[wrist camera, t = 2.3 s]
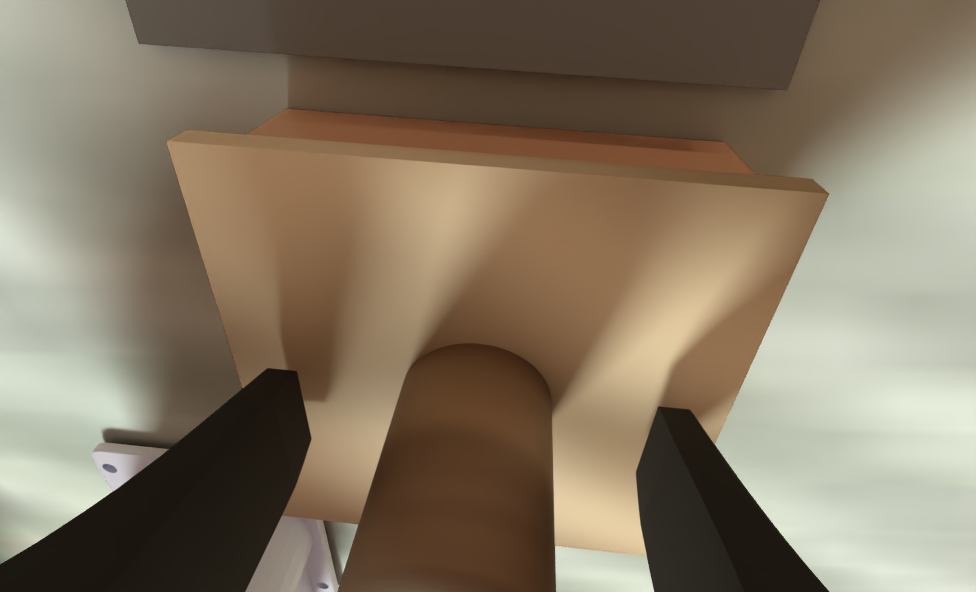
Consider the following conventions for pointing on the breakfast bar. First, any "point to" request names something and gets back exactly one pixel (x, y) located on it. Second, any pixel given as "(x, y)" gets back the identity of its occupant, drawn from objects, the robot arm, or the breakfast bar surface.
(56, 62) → the breakfast bar surface
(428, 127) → the dish
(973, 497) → the breakfast bar surface
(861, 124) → the breakfast bar surface
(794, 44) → the mat
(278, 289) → the lid
